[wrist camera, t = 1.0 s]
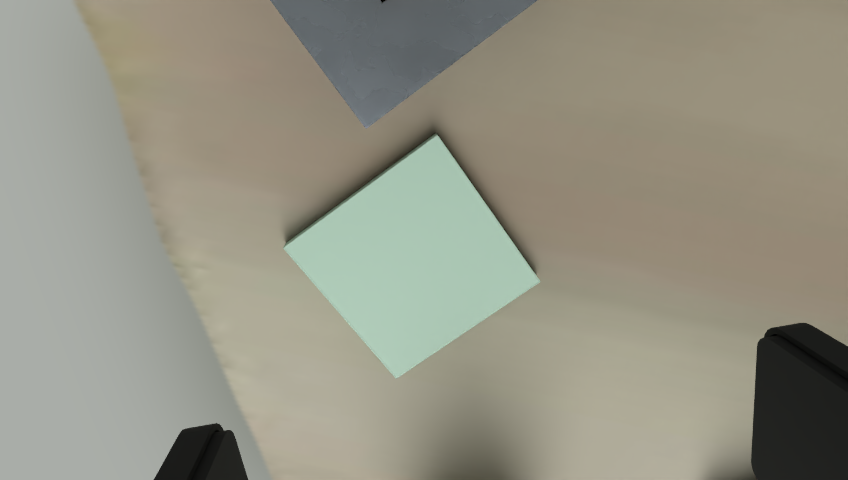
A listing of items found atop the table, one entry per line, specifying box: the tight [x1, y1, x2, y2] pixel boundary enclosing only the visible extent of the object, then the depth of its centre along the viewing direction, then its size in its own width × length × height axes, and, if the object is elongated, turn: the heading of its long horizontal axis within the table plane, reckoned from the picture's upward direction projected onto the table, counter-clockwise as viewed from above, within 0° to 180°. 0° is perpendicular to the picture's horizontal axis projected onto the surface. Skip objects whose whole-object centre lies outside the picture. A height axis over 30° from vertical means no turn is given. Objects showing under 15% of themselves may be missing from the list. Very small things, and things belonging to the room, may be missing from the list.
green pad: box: [283, 133, 540, 379], centre depth 35 cm, size 12×12×1 cm
